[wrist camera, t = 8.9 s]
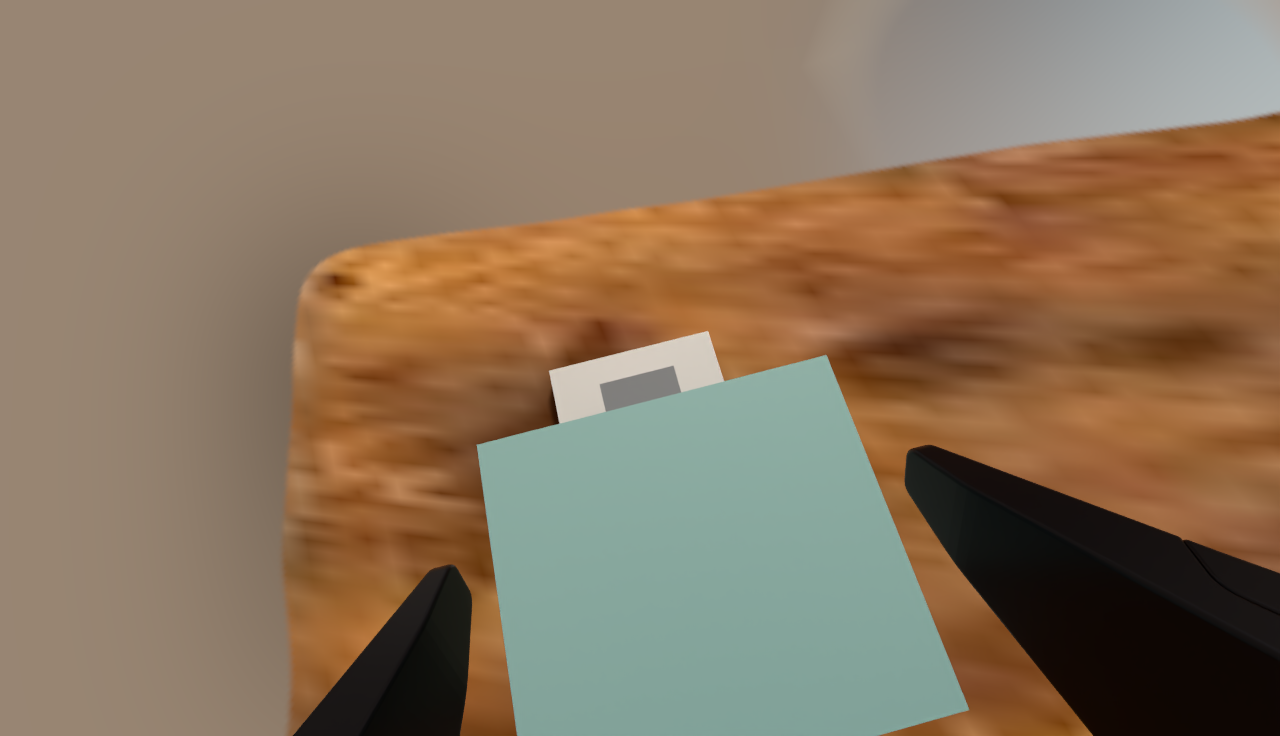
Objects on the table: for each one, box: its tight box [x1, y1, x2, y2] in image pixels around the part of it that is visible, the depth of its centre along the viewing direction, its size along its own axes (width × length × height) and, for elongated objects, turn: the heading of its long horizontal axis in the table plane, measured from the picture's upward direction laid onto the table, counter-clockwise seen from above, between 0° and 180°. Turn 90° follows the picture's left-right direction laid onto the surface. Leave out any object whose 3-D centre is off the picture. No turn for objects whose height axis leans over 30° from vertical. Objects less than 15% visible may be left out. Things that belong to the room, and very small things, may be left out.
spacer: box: [477, 355, 969, 736], centre depth 12 cm, size 4×5×12 cm
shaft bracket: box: [549, 331, 724, 424], centre depth 16 cm, size 15×7×4 cm, turn 14°
